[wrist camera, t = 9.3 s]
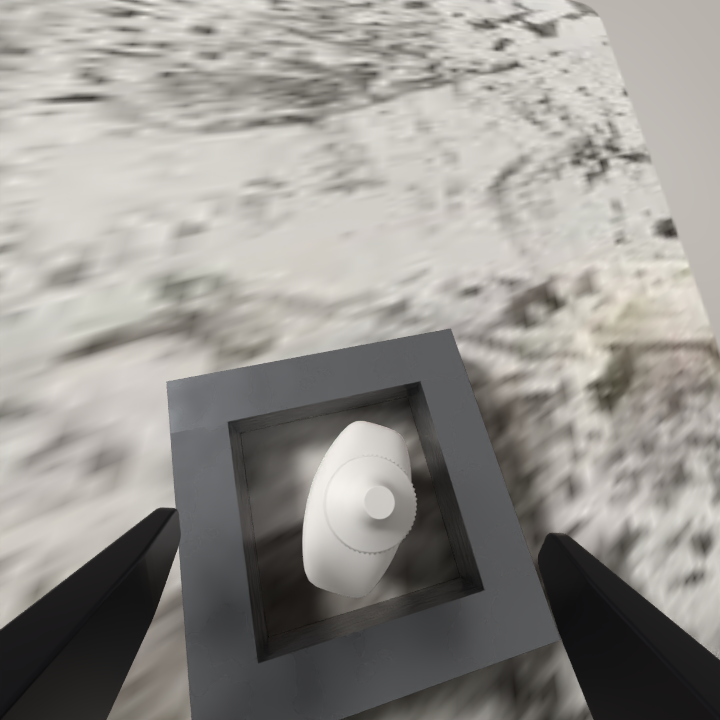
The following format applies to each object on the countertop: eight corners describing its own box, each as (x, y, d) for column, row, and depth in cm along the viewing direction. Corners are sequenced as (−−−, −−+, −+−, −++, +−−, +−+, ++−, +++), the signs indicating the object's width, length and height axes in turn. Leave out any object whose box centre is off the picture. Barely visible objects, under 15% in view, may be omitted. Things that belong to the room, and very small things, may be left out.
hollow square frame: (523, 619, 18) (560, 640, 16) (217, 724, 16) (195, 772, 13) (434, 349, 23) (450, 328, 20) (187, 398, 21) (166, 381, 18)
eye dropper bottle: (412, 493, 20) (528, 481, 9) (335, 580, 18) (360, 705, 7) (354, 434, 21) (393, 354, 10) (275, 512, 19) (211, 525, 8)
